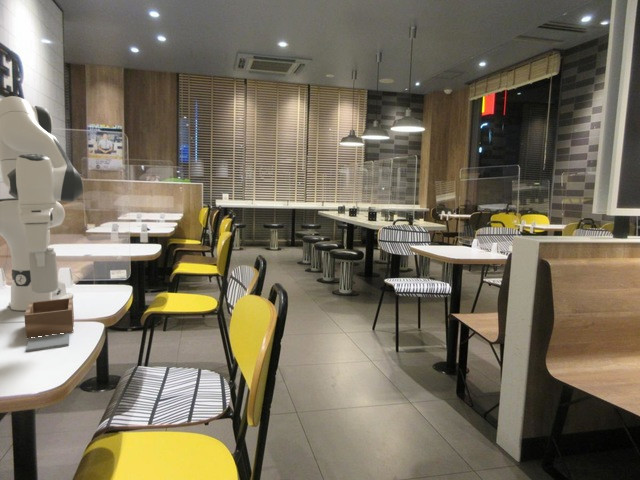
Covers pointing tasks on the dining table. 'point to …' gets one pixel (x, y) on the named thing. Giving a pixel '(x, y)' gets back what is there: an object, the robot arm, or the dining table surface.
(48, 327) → the box
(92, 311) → the dining table surface
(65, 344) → the mat
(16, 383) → the dining table surface
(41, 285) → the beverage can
